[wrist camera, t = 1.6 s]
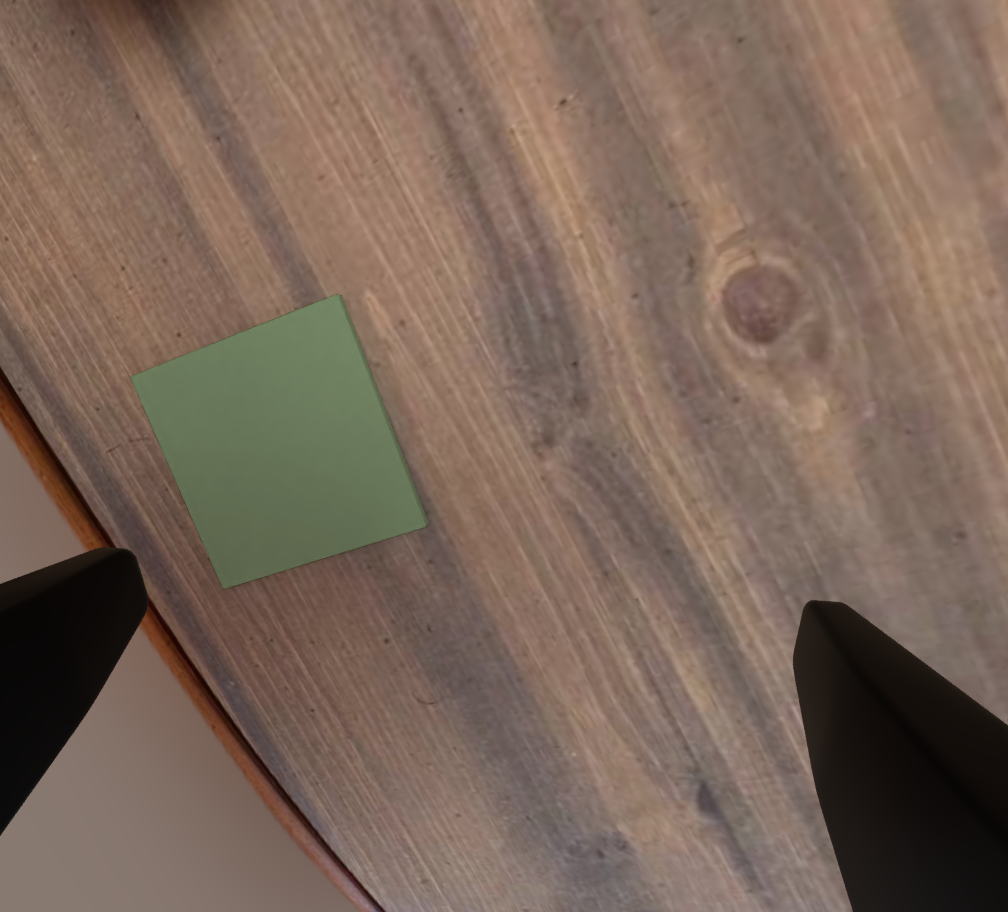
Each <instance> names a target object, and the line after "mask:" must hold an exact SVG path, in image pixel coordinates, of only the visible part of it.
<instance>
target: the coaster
mask: <svg viewBox="0 0 1008 912" xmlns="http://www.w3.org/2000/svg"><path fill="white" fill-rule="evenodd" d="M130 378H131V381H132V383H133V385H134V387H135V390H136V392H137V394H138V397H139V399H140V401H141V403H142V406H143V408H144V410H145V413H146V415H147V417H148V419H149V422H150V424H151V426H152V428H153V431H154V433H155V435H156V438H157V440H158V442H159V444H160V447H161V449H162V451H163V454H164V456H165V458H166V460H167V463H168V465H169V467H170V470H171V472H172V474H173V476H174V479H175V481H176V483H177V485H178V488H179V490H180V492H181V495H182V497H183V499H184V501H185V504H186V506H187V508H188V511H189V513H190V515H191V517H192V520H193V522H194V524H195V526H196V529H197V531H198V533H199V536H200V538H201V540H202V542H203V545H204V547H205V549H206V552H207V554H208V556H209V558H210V561H211V563H212V565H213V568H214V570H215V572H216V574H217V577H218V579H219V581H220V583H221V586H222V588H223V589H226V588H229V587H233V586H236V585H239V584H242V583H246V582H249V581H252V580H255V579H259V578H262V577H265V576H268V575H272V574H275V573H278V572H281V571H285V570H288V569H291V568H294V567H298V566H301V565H304V564H307V563H311V562H314V561H317V560H320V559H324V558H327V557H330V556H333V555H337V554H340V553H343V552H346V551H350V550H353V549H356V548H359V547H363V546H366V545H369V544H372V543H376V542H379V541H382V540H385V539H389V538H392V537H395V536H398V535H402V534H405V533H408V532H411V531H414V530H418V529H421V528H424V527H426V526H427V525H428V524H429V522H428V520H427V517H426V515H425V512H424V509H423V507H422V504H421V501H420V499H419V496H418V494H417V491H416V488H415V486H414V483H413V480H412V478H411V475H410V473H409V470H408V467H407V465H406V462H405V460H404V457H403V454H402V452H401V449H400V446H399V444H398V441H397V439H396V436H395V433H394V431H393V428H392V425H391V423H390V420H389V418H388V415H387V412H386V410H385V407H384V405H383V402H382V399H381V397H380V394H379V391H378V389H377V386H376V384H375V381H374V378H373V376H372V373H371V370H370V368H369V365H368V363H367V360H366V357H365V355H364V352H363V350H362V347H361V344H360V342H359V339H358V336H357V334H356V331H355V329H354V326H353V323H352V321H351V318H350V316H349V313H348V310H347V308H346V305H345V302H344V300H343V297H342V295H338V294H336V295H334V296H331V297H329V298H326V299H323V300H321V301H318V302H316V303H313V304H311V305H308V306H306V307H303V308H301V309H298V310H296V311H293V312H291V313H288V314H286V315H283V316H281V317H278V318H276V319H273V320H271V321H268V322H266V323H263V324H261V325H258V326H256V327H253V328H251V329H248V330H246V331H243V332H241V333H238V334H236V335H233V336H231V337H228V338H226V339H223V340H221V341H218V342H216V343H213V344H211V345H208V346H206V347H203V348H201V349H198V350H196V351H193V352H191V353H188V354H186V355H183V356H181V357H178V358H176V359H173V360H171V361H168V362H166V363H163V364H161V365H158V366H156V367H153V368H151V369H148V370H146V371H143V372H141V373H138V374H136V375H133V376H131V377H130Z"/></svg>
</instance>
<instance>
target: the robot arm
mask: <svg viewBox="0 0 1008 912" xmlns="http://www.w3.org/2000/svg"><path fill="white" fill-rule="evenodd" d="M147 608H148V594H147V591H146V587H145V584H144V581H143V577H142V574H141V571H140V567H139V564H138V561H137V558H136V556H135V555H134V553H133V552H132V551H130V550H128V549H123V548H110V547H102V548H97V549H94V550H91V551H89V552H86V553H83V554H80V555H78V556H75V557H73V558H70V559H67V560H64V561H62V562H59V563H56V564H54V565H51V566H48V567H45V568H43V569H40V570H37V571H34V572H32V573H29V574H26V575H24V576H21V577H18V578H15V579H13V580H10V581H7V582H4V583H2V584H0V836H1V834H2V833H3V831H4V830H5V828H6V827H7V825H8V824H9V823H10V821H11V820H12V819H13V817H14V816H15V814H16V813H17V812H18V810H19V809H20V807H21V806H22V805H23V803H24V802H25V800H26V799H27V797H28V796H29V794H30V793H31V792H32V790H33V789H34V788H35V786H36V785H37V783H38V782H39V781H40V779H41V778H42V776H43V775H44V774H45V772H46V771H47V769H48V768H49V766H50V765H51V764H52V762H53V761H54V759H55V758H56V756H57V755H58V754H59V752H60V751H61V750H62V748H63V747H64V745H65V744H66V743H67V741H68V739H69V738H70V737H71V735H72V734H73V733H74V731H75V730H76V728H77V727H78V726H79V724H80V723H81V721H82V720H83V718H84V717H85V715H86V714H87V712H88V711H89V709H90V707H91V706H92V704H93V703H94V701H95V700H96V698H97V696H98V695H99V693H100V691H101V690H102V688H103V686H104V684H105V683H106V681H107V679H108V678H109V676H110V674H111V672H112V671H113V669H114V667H115V666H116V664H117V662H118V660H119V659H120V657H121V655H122V654H123V652H124V650H125V648H126V647H127V645H128V643H129V641H130V640H131V638H132V636H133V635H134V633H135V631H136V629H137V628H138V626H139V624H140V623H141V621H142V619H143V617H144V616H145V613H146V611H147ZM793 670H794V676H795V681H796V687H797V692H798V698H799V703H800V708H801V714H802V719H803V724H804V730H805V735H806V741H807V746H808V751H809V757H810V762H811V768H812V773H813V777H814V782H815V787H816V791H817V795H818V799H819V802H820V806H821V809H822V813H823V816H824V819H825V822H826V826H827V829H828V832H829V835H830V839H831V842H832V845H833V848H834V852H835V855H836V858H837V861H838V865H839V868H840V871H841V874H842V878H843V881H844V884H845V887H846V891H847V894H848V897H849V900H850V904H851V907H852V910H853V912H1008V725H1007V724H1005V723H1004V722H1003V721H1001V720H1000V719H999V718H997V717H996V716H995V715H993V714H992V713H991V712H989V711H988V710H987V709H985V708H984V707H983V706H981V705H980V704H979V703H977V702H976V701H975V700H973V699H972V698H971V697H969V696H968V695H967V694H965V693H964V692H963V691H961V690H960V689H959V688H957V687H956V686H955V685H953V684H952V683H951V682H949V681H948V680H947V679H945V678H944V677H943V676H941V675H940V674H939V673H937V672H936V671H935V670H933V669H932V668H931V667H929V666H928V665H927V664H925V663H924V662H923V661H921V660H920V659H919V658H917V657H916V656H915V655H913V654H912V653H911V652H909V651H908V650H907V649H905V648H904V647H903V646H901V645H900V644H899V643H897V642H896V641H895V640H893V639H892V638H891V637H889V636H888V635H887V634H885V633H884V632H882V631H881V630H880V629H878V628H877V627H876V626H874V625H873V624H872V623H870V622H869V621H868V620H866V619H865V618H864V617H862V616H861V615H860V614H858V613H857V612H856V611H854V610H853V609H852V608H850V607H849V606H848V605H846V604H844V603H841V602H832V601H818V600H811V601H809V602H808V603H806V605H805V607H804V609H803V612H802V617H801V621H800V626H799V630H798V635H797V639H796V644H795V648H794V654H793Z"/></svg>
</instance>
